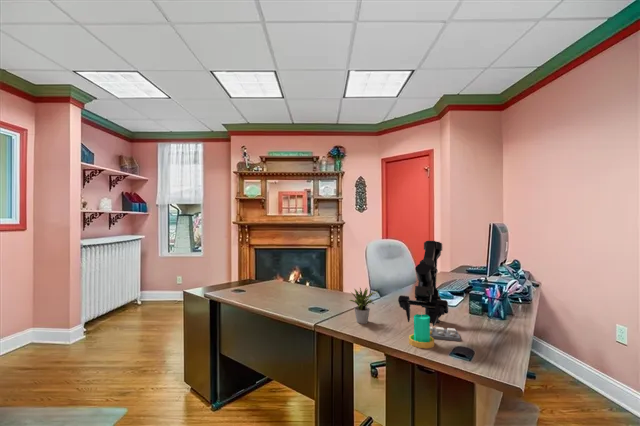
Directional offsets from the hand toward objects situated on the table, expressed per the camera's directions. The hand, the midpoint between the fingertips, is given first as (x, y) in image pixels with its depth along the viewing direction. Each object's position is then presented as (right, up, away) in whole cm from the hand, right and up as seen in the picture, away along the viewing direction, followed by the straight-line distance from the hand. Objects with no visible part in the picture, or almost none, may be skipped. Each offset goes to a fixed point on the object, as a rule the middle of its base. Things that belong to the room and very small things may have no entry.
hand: (420, 323), depth 118 cm
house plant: (-19, -9, +25) cm, 32 cm away
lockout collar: (+1, -8, +1) cm, 8 cm away
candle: (+1, -8, +1) cm, 8 cm away
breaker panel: (+11, -8, +9) cm, 17 cm away
